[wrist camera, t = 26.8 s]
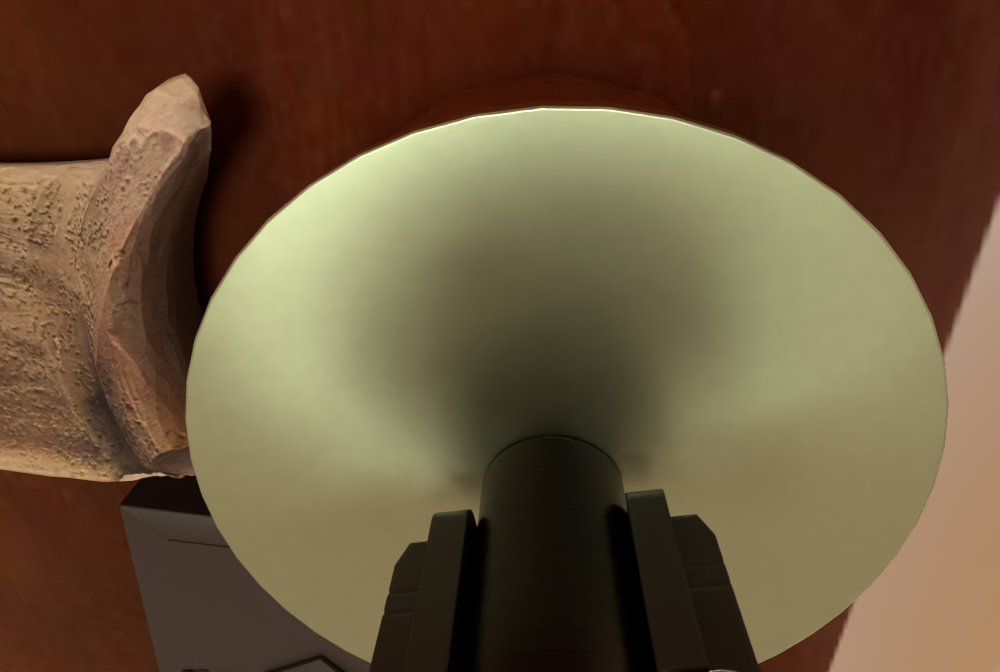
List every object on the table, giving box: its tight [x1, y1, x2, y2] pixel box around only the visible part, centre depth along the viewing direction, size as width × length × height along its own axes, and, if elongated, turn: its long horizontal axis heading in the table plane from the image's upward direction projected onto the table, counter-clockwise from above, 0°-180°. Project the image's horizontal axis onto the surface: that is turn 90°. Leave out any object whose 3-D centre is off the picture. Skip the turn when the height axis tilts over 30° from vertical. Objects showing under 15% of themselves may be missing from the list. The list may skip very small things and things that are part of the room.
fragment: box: [0, 74, 212, 482], centre depth 20 cm, size 13×16×5 cm
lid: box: [185, 101, 948, 672], centre depth 11 cm, size 16×16×7 cm
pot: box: [389, 72, 683, 138], centre depth 18 cm, size 15×15×7 cm
